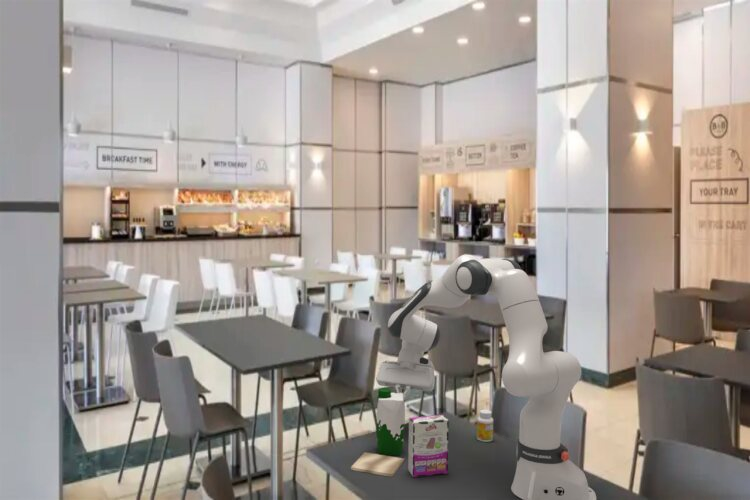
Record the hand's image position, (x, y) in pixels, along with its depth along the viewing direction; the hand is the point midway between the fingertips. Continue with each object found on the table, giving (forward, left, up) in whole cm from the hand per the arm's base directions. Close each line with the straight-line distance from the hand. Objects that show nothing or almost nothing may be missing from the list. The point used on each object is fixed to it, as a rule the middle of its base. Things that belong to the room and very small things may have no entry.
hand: (400, 398), depth 203 cm
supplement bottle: (-27, -12, -14) cm, 33 cm away
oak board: (0, +22, -14) cm, 27 cm away
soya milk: (0, +10, -14) cm, 18 cm away
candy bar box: (-15, +22, -14) cm, 30 cm away
